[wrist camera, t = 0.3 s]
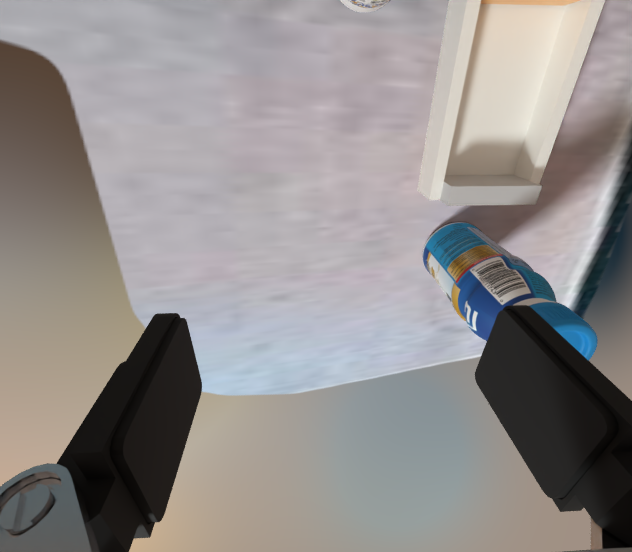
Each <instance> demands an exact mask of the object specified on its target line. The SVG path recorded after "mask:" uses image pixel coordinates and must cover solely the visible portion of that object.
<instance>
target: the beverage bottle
mask: <svg viewBox="0 0 632 552" xmlns="http://www.w3.org/2000/svg"><path fill="white" fill-rule="evenodd" d="M422 257H423V263H424V266H425V268H426V269H427V270H428V272H429V273H430V274H431V275H432V276H433V278H434V279H435V280H436V282H437V283H438V284H439V286H440V287H441V289H442V290H443V291H444V293H445V294H446V296H447V297H448V298H449V300H450V301H451V303H452V305H453V307H454V309H455V311H456V312H457V313H458V315H459V316H460V317H461V318H462V319H463V320H465V321H466V322H467V324H468V326H469V328H470V329H471V330H472V331H473V332H474V333H475V334H476V335H478V336H479V337H481V338H482V339H484V340H486V341H487V340H488V338H489V335H490V332H491V330H492V327H493V325H494V322H495V319H496V317H497V314H498V313H499V312H500V311H502V310H503V308H504V307H505V306H508V305H527V306H530V307H531V308H532V309H533V310H535V311H536V312H537V313H538V314H539V315H540V316H541V317H542V318H543V319H544V320H545V321H546V322H547V323H549V324H550V325H551V326H552V327H553V328H554V329H555V330H556V331H557V332H558V333H559V334H560V335H561V336H562V337H564V338H565V339H566V340H567V341H568V342H569V343H570V344H571V345H572V346H573V347H574V348H575V349H576V350H577V351H579V352H580V353H581V354H582V355H583V356H584V357H585V358H586V359H587V360H588V361H589V359H590V358H591V357H592V355H593V353H594V352H595V350H596V347H597V336H596V333H595V332H594V330H593V329H592V328H591V327H590V325H589V324H588V323H587V322H585V321H584V320H583V319H582V318H580V317H579V316H578V315H577V314H575V313H574V312H573V311H571V310H570V309H569V308H567V307H566V306H564V305H562V304H559V303H557V302H556V298H555V295H554V292H553V290H552V288H551V286H550V285H549V283H548V282H547V281H546V280H545V278H543V277H542V276H541V275H539V274H538V273H536V272H534V271H533V269H532V268H531V267H530V266H529V265H528V264H527V263H526V262H525V261H523V260H522V259H520V258H518V257H516V256H514V255H512V254H510V253H509V252H508V251H506V250H505V249H504V248H502V247H501V246H499V245H498V244H497V243H495V242H494V241H493V240H491V239H490V238H489V237H487V236H486V235H485V234H484V233H483V232H482V231H480V230H479V229H478V228H477V227H475V226H474V225H472V224H469V223H465V222H455V223H450V224H447V225H445V226H443V227H441V228H439V229H438V230H437V231H435V232H434V233H433V234H432V235H431V236H430V237H429V239H428V240H427V242H426V244H425V246H424V249H423V255H422Z"/></svg>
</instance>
